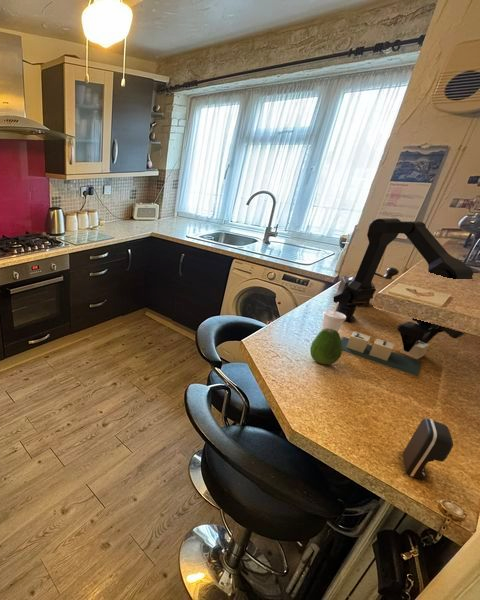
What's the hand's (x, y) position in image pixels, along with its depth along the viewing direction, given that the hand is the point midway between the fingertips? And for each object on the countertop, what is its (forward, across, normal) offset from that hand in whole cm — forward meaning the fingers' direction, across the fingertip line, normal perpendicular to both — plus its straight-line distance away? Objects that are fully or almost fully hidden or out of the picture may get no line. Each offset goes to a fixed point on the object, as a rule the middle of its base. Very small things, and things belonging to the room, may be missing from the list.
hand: (414, 348), depth 104 cm
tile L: (+2, -13, +9) cm, 16 cm away
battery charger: (+3, -51, -24) cm, 56 cm away
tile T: (+2, 0, 0) cm, 2 cm away
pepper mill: (+3, +29, +32) cm, 43 cm away
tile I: (+2, -11, +4) cm, 12 cm away
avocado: (+3, -32, +9) cm, 33 cm away
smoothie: (+3, -15, +18) cm, 23 cm away
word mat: (+2, -11, +4) cm, 12 cm away
